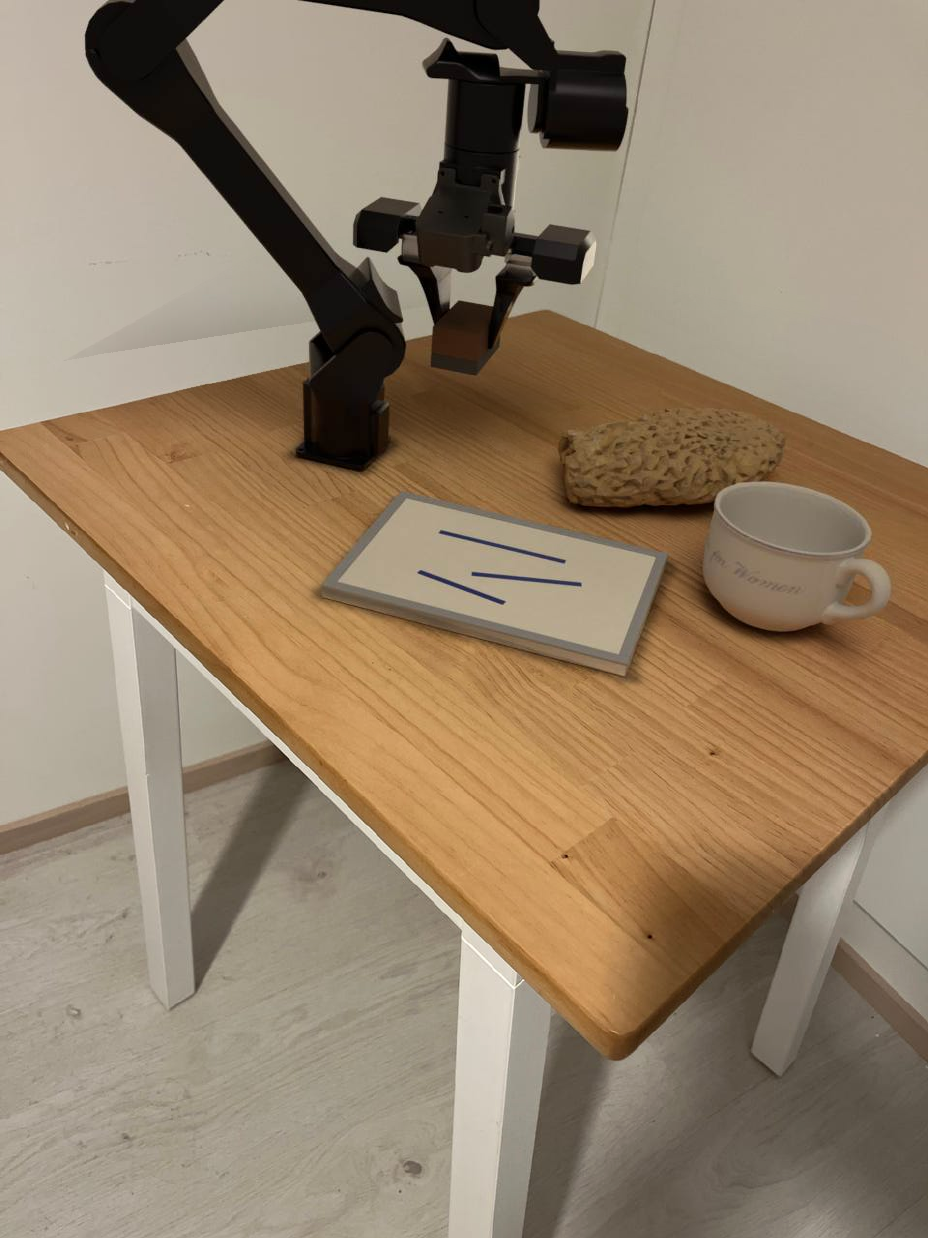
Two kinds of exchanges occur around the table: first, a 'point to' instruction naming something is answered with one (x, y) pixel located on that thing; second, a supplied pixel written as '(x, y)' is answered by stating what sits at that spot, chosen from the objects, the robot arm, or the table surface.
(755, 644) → the table surface
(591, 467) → the sponge
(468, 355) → the eraser
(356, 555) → the whiteboard
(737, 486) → the teacup
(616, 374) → the table surface
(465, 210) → the robot arm
